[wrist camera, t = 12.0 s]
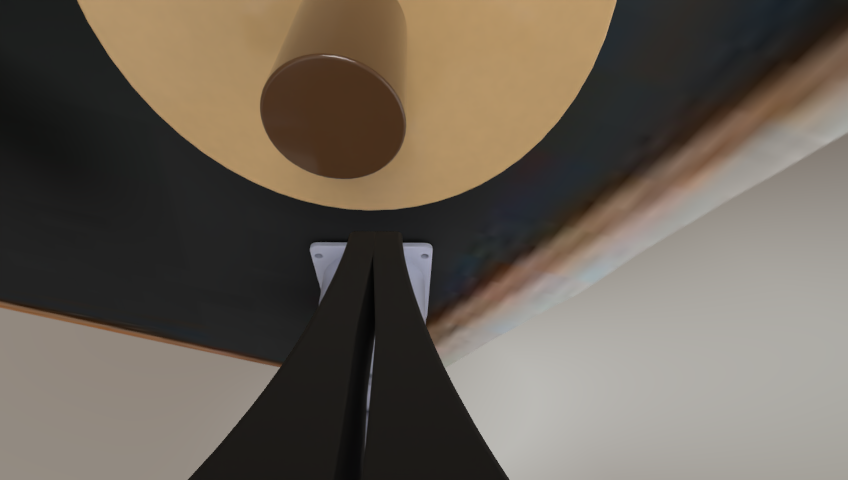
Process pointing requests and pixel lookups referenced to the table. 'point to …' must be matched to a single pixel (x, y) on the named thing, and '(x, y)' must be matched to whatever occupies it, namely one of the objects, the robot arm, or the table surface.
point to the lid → (357, 86)
